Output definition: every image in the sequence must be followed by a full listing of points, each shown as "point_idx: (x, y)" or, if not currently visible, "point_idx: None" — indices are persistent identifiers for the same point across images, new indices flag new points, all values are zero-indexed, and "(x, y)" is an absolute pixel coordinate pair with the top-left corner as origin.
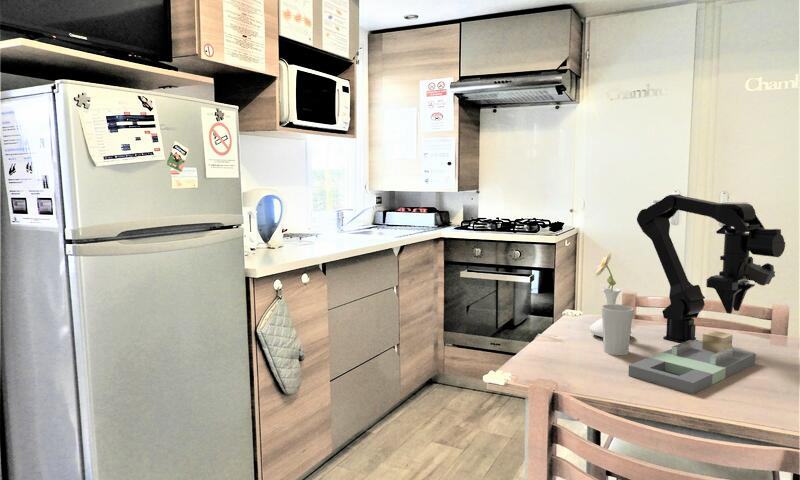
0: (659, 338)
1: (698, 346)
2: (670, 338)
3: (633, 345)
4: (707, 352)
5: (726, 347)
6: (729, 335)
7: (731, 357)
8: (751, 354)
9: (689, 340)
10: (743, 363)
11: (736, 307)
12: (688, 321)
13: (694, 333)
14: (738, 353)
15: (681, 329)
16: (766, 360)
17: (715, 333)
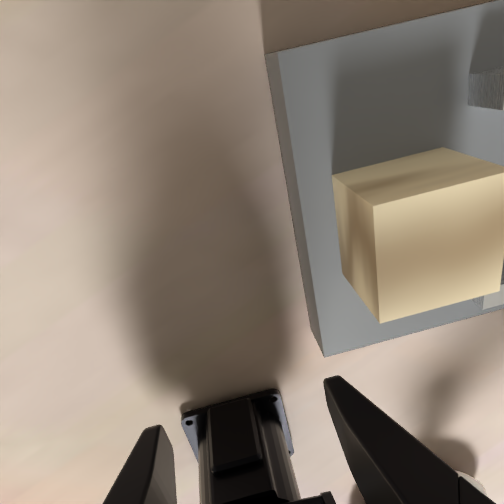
0: (295, 454)
1: None
2: (287, 436)
3: (446, 419)
4: None
5: (416, 164)
6: (413, 199)
7: (483, 70)
8: (320, 52)
9: (496, 302)
10: (437, 14)
11: (166, 466)
12: (273, 486)
13: (217, 428)
14: (365, 109)
15: (281, 455)
16: (148, 57)
17: (436, 268)
